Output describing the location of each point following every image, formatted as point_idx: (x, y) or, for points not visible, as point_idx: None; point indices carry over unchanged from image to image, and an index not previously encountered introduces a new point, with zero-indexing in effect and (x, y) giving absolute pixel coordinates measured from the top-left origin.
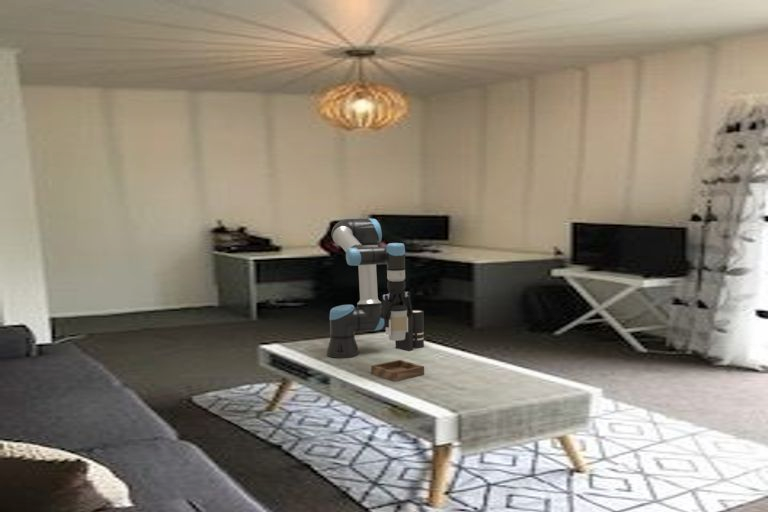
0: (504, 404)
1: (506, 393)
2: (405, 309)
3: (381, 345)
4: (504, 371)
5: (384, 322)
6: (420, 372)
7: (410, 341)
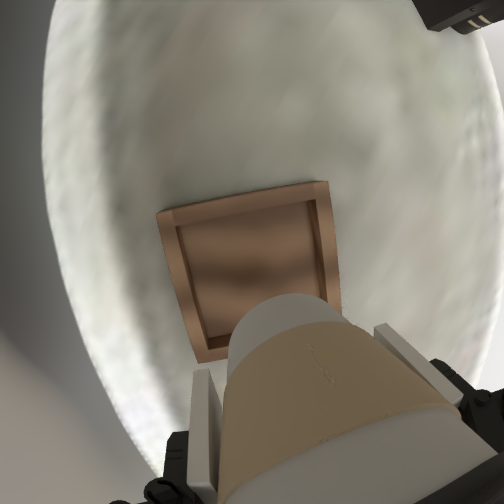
0: None
1: None
2: None
3: None
4: (469, 355)
5: (164, 469)
6: None
7: (450, 20)
